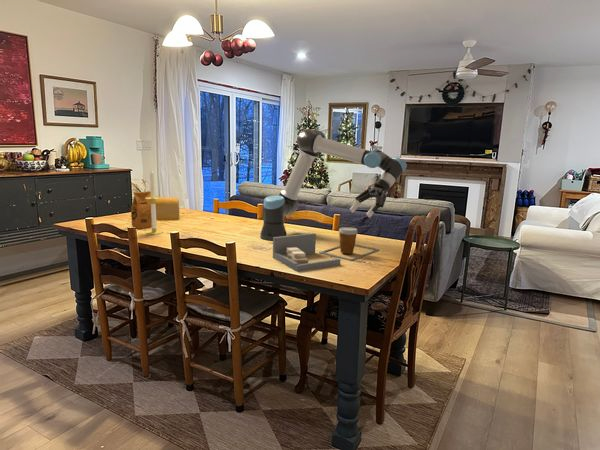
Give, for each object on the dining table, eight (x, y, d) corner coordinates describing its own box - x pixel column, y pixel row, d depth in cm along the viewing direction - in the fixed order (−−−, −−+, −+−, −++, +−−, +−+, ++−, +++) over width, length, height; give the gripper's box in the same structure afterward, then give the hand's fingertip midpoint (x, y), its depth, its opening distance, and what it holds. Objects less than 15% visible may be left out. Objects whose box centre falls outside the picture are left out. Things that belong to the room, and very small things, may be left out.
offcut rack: (272, 257, 199) (273, 237, 197) (313, 252, 210) (314, 233, 208) (296, 271, 180) (297, 248, 178) (340, 264, 191) (341, 243, 189)
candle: (167, 231, 246) (164, 167, 238) (154, 235, 237) (151, 168, 229) (154, 229, 250) (152, 166, 243) (141, 232, 242) (138, 167, 234)
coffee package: (129, 226, 256) (127, 191, 252) (149, 224, 265) (147, 189, 261) (137, 229, 250) (135, 193, 245) (156, 226, 258) (155, 191, 254)
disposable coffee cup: (334, 250, 213) (335, 227, 211) (351, 249, 216) (352, 226, 214) (342, 255, 204) (343, 230, 202) (359, 254, 207) (361, 230, 205)
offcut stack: (283, 258, 199) (283, 246, 198) (295, 257, 201) (295, 245, 200) (296, 269, 183) (297, 256, 182) (309, 268, 185) (309, 255, 184)
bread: (179, 216, 293) (179, 195, 290) (179, 220, 281) (178, 198, 278) (142, 217, 287) (141, 195, 284) (140, 221, 275) (139, 198, 272)
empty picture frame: (379, 249, 218) (348, 260, 195) (379, 252, 218) (348, 264, 196) (348, 242, 230) (315, 253, 207) (348, 245, 230) (315, 256, 207)
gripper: (404, 191, 207) (379, 223, 203) (372, 185, 228) (348, 214, 224) (397, 180, 203) (371, 212, 199) (365, 175, 224) (341, 204, 220)
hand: (359, 213), depth 211 cm, fingers open, 13 cm apart
